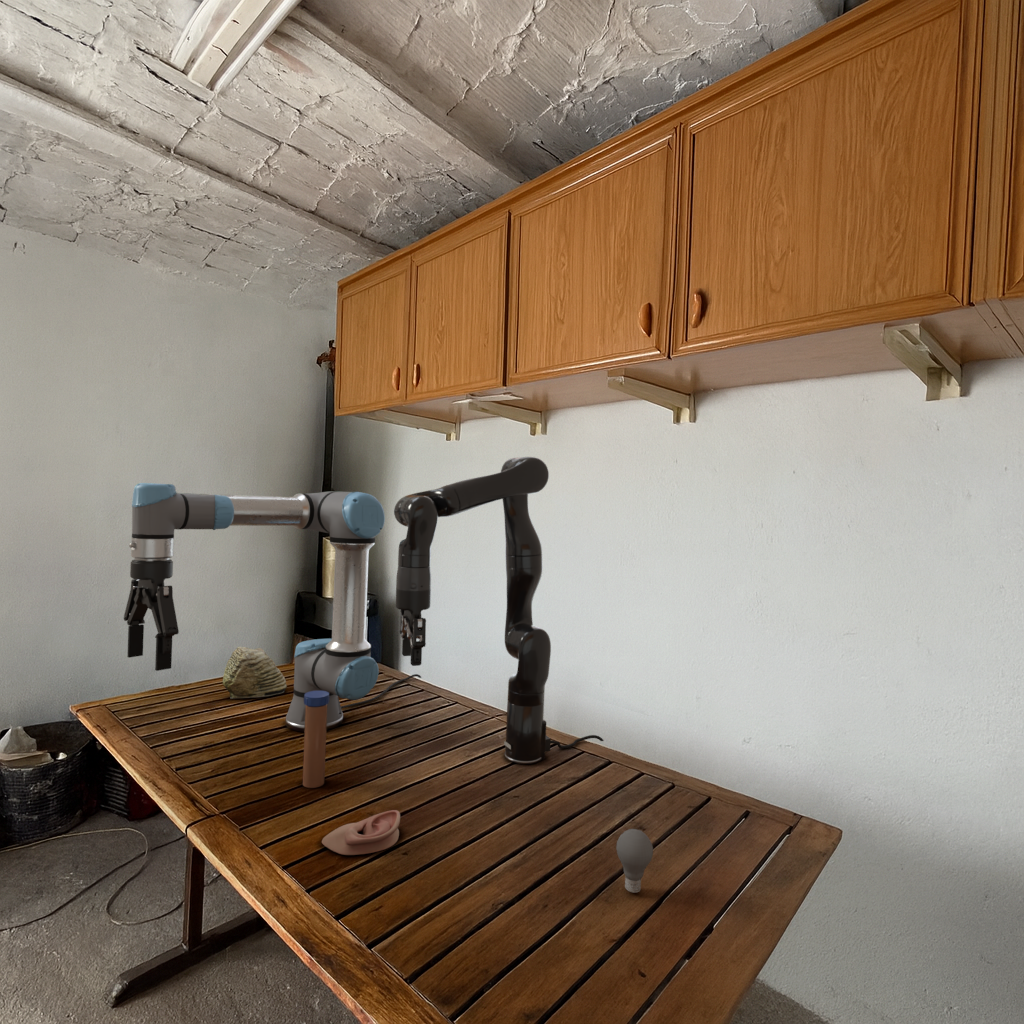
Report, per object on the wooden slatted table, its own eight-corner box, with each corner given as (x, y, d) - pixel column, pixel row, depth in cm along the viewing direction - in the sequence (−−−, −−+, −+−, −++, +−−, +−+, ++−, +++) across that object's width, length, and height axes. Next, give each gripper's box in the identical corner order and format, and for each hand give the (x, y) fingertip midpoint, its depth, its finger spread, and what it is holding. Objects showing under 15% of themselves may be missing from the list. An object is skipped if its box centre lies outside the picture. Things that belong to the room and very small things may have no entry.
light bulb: (610, 879, 108) (613, 822, 108) (644, 879, 109) (647, 822, 109) (619, 902, 102) (622, 840, 102) (655, 901, 103) (658, 840, 103)
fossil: (218, 695, 195) (220, 647, 195) (278, 685, 208) (279, 640, 207) (228, 703, 189) (230, 653, 188) (289, 692, 201) (290, 645, 201)
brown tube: (298, 783, 140) (301, 695, 139) (317, 776, 143) (320, 691, 143) (309, 790, 137) (313, 700, 136) (328, 783, 140) (331, 696, 140)
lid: (299, 702, 139) (299, 693, 139) (320, 697, 143) (321, 688, 143) (312, 708, 136) (312, 699, 136) (333, 703, 140) (334, 694, 140)
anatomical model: (313, 828, 113) (343, 799, 125) (313, 850, 113) (342, 819, 125) (383, 839, 111) (407, 808, 122) (382, 862, 111) (406, 829, 122)
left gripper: (108, 554, 134) (104, 654, 134) (159, 565, 118) (155, 678, 119) (146, 552, 140) (143, 648, 140) (199, 563, 124) (195, 671, 124)
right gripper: (438, 591, 133) (436, 667, 134) (422, 581, 146) (420, 651, 147) (403, 592, 130) (401, 670, 131) (390, 582, 144) (387, 653, 144)
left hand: (148, 662), depth 129 cm, fingers open, 13 cm apart
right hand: (411, 660), depth 139 cm, fingers open, 8 cm apart
